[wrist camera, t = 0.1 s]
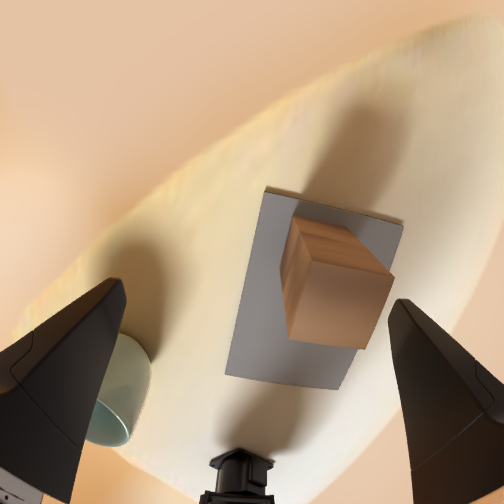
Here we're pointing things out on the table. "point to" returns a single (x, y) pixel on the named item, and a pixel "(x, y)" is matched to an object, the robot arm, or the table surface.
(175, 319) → the table surface
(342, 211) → the mat
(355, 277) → the block
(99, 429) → the cup
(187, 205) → the table surface
